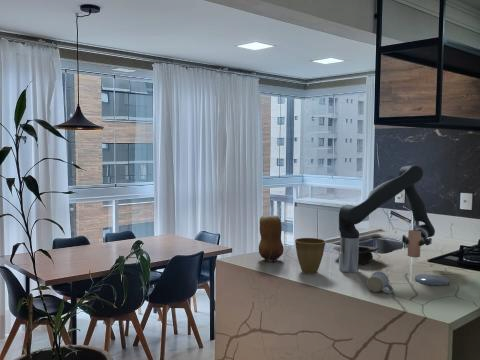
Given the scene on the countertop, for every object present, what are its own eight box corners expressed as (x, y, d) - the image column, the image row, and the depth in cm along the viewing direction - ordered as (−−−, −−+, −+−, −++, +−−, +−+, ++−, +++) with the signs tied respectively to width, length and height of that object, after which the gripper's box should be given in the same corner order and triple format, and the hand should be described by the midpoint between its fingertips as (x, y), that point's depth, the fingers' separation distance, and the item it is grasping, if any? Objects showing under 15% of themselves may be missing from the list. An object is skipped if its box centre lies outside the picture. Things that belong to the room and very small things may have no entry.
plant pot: (330, 272, 233) (331, 240, 232) (311, 278, 224) (311, 245, 222) (307, 266, 245) (308, 236, 243) (288, 271, 235) (288, 239, 234)
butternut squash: (266, 256, 264) (267, 212, 262) (287, 259, 257) (288, 214, 255) (253, 261, 253) (254, 215, 251) (274, 265, 246) (275, 218, 243)
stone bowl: (368, 268, 241) (368, 251, 240) (324, 264, 256) (324, 247, 255) (386, 258, 260) (385, 242, 260) (344, 255, 276) (343, 239, 275)
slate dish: (419, 285, 215) (419, 282, 215) (411, 276, 230) (411, 273, 230) (453, 286, 213) (453, 284, 213) (442, 277, 228) (443, 274, 228)
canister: (409, 257, 221) (410, 232, 220) (406, 254, 227) (407, 229, 226) (421, 257, 221) (422, 232, 220) (418, 254, 226) (419, 230, 225)
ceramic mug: (365, 291, 205) (366, 274, 205) (371, 286, 212) (372, 269, 211) (390, 296, 200) (391, 278, 199) (395, 291, 207) (396, 274, 206)
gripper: (404, 227, 239) (398, 233, 224) (434, 230, 232) (430, 237, 217) (403, 242, 240) (397, 249, 225) (434, 245, 233) (429, 253, 218)
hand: (413, 243), depth 221 cm, fingers closed on canister, 5 cm apart
